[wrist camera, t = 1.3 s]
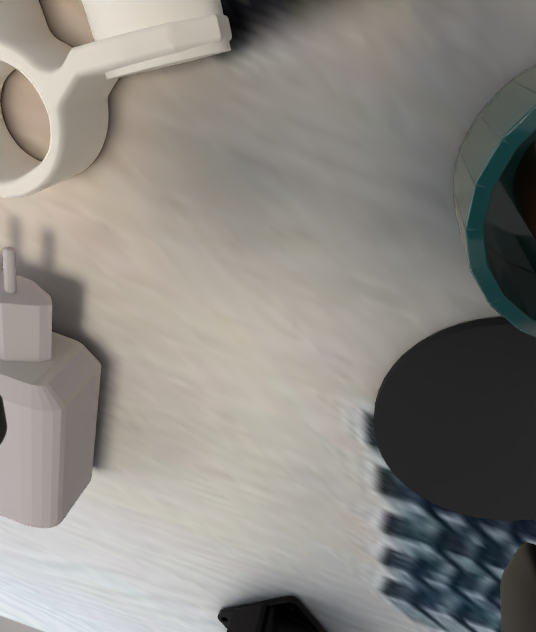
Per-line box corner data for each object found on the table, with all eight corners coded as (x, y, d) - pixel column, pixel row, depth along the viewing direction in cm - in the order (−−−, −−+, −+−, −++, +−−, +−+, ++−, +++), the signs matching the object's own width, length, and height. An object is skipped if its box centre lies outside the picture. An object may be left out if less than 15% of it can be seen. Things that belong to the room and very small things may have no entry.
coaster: (681, 476, 22) (687, 486, 21) (439, 531, 27) (440, 541, 26) (584, 270, 19) (589, 277, 18) (331, 375, 24) (329, 383, 23)
